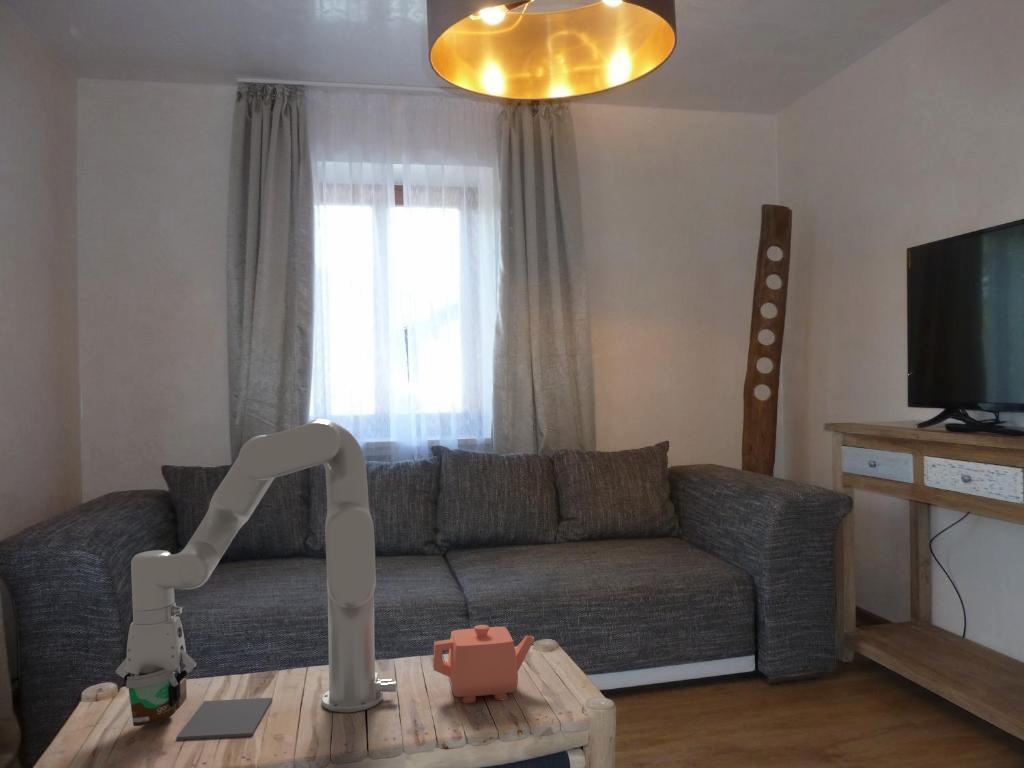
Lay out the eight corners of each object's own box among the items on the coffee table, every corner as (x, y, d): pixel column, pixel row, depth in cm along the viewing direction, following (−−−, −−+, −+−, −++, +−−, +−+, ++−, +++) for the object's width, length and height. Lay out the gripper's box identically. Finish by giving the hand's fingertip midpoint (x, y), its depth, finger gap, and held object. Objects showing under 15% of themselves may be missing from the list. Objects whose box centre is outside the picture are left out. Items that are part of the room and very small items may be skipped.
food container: (157, 730, 142) (154, 678, 142) (128, 729, 143) (125, 677, 143) (195, 702, 154) (192, 653, 154) (168, 701, 155) (165, 653, 155)
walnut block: (186, 699, 160) (186, 678, 160) (179, 708, 155) (178, 686, 155) (164, 700, 159) (164, 679, 159) (156, 709, 155) (156, 687, 155)
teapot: (529, 676, 169) (528, 613, 169) (541, 699, 156) (540, 631, 156) (431, 685, 165) (430, 620, 165) (436, 709, 152) (435, 640, 152)
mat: (272, 700, 158) (272, 697, 158) (252, 736, 142) (252, 732, 142) (204, 703, 157) (204, 701, 157) (176, 740, 141) (176, 736, 141)
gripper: (204, 606, 153) (208, 694, 153) (117, 611, 151) (121, 700, 151) (192, 617, 145) (196, 710, 145) (100, 623, 144) (104, 716, 144)
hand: (157, 704), depth 148 cm, fingers closed on food container, 5 cm apart
